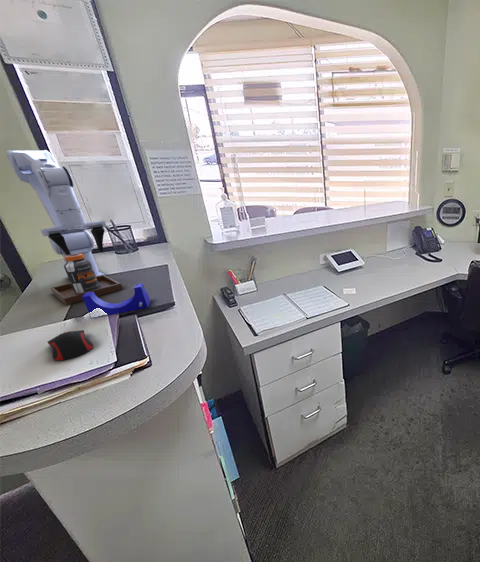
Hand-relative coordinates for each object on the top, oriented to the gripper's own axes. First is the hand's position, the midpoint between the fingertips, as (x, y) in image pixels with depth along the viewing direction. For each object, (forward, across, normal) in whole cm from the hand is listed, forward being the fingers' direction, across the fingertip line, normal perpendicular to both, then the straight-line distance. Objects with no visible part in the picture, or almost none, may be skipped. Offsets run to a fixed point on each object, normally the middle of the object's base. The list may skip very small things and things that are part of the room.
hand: (86, 254), depth 96 cm
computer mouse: (+13, -15, -42) cm, 46 cm away
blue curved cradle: (+12, -2, -29) cm, 31 cm away
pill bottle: (+10, -4, -4) cm, 12 cm away
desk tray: (+11, -4, -4) cm, 12 cm away
